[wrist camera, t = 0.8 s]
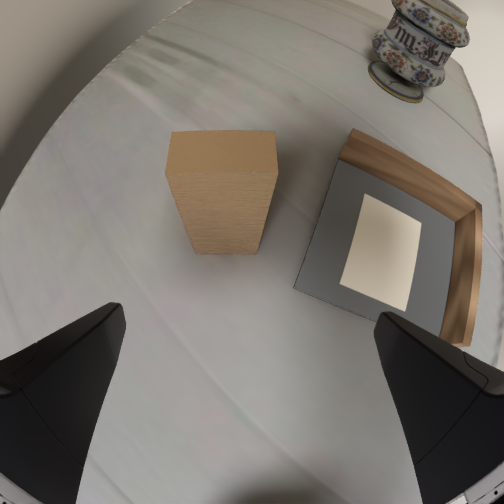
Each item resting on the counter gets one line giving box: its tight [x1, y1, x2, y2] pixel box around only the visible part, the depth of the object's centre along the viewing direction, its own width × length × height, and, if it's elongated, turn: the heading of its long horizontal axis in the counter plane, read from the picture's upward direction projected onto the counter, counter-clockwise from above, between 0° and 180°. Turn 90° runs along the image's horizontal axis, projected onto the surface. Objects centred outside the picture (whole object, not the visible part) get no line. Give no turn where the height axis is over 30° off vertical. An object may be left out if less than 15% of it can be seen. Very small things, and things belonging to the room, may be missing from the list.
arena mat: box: [293, 159, 455, 337], centre depth 24 cm, size 14×16×1 cm
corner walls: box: [338, 128, 482, 347], centre depth 23 cm, size 15×17×4 cm
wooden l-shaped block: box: [165, 130, 278, 254], centre depth 19 cm, size 8×5×12 cm, turn 1°
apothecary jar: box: [368, 0, 470, 103], centre depth 25 cm, size 12×12×18 cm
